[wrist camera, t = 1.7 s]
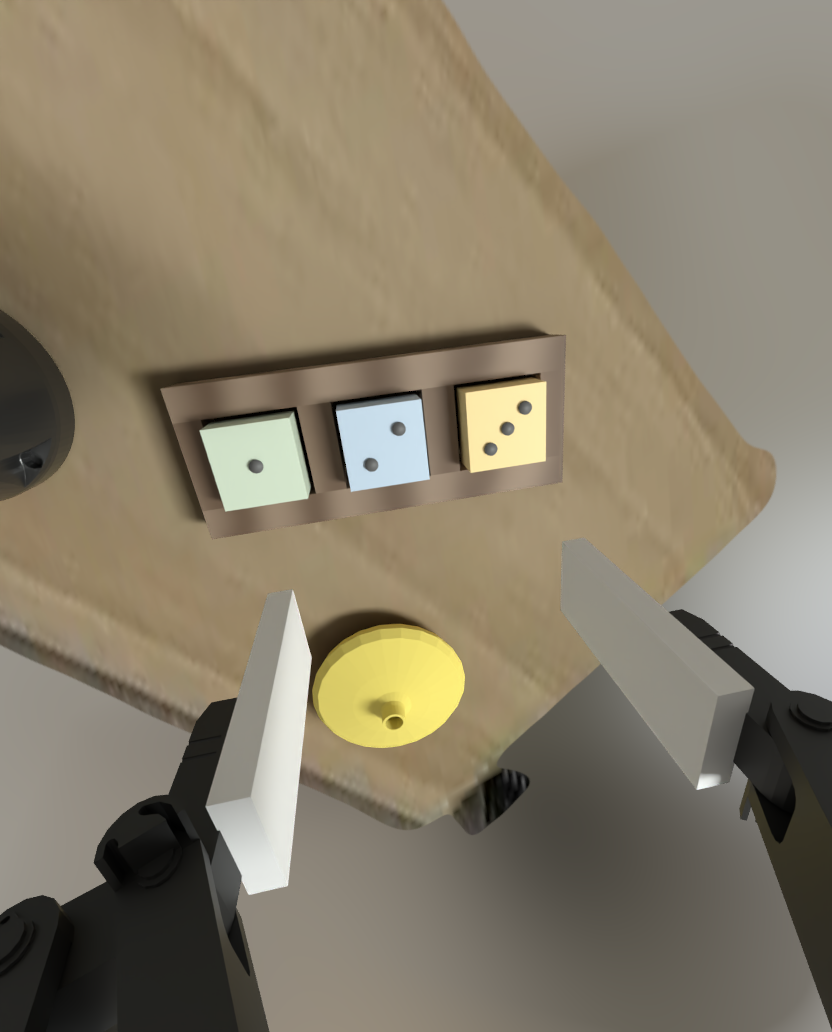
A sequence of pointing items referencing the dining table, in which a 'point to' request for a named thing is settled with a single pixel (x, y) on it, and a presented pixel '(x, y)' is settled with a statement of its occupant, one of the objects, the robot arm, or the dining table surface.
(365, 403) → the tile
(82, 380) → the dining table surface
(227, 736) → the robot arm
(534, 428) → the tile
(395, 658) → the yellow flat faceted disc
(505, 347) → the board
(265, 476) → the tile
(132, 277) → the dining table surface
